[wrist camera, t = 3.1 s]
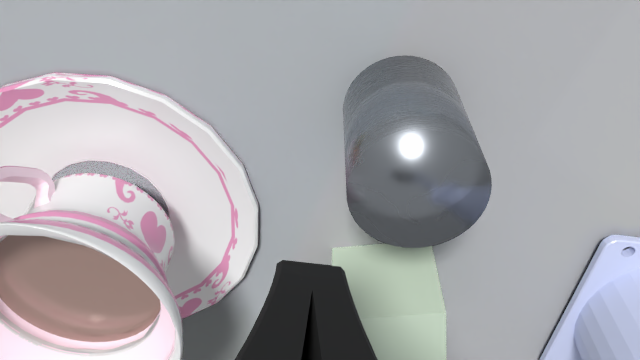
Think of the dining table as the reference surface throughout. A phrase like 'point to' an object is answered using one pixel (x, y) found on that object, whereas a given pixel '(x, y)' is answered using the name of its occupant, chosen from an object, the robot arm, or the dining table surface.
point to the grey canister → (411, 155)
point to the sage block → (396, 299)
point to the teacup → (113, 220)
